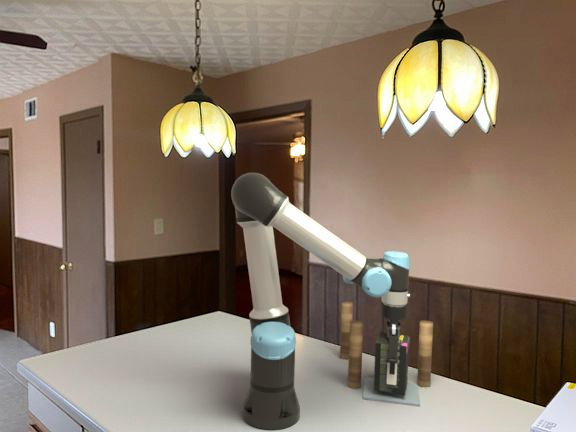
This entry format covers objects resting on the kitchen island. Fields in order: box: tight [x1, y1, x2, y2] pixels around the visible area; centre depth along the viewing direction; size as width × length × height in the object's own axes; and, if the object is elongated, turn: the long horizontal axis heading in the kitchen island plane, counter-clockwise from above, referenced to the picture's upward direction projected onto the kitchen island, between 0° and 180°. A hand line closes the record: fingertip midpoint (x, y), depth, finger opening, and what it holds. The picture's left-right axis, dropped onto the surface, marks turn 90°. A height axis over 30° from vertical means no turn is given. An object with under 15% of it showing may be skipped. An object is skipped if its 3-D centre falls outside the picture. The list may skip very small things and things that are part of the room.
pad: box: [362, 377, 421, 407], centre depth 133 cm, size 14×16×1 cm
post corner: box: [347, 320, 364, 390], centre depth 136 cm, size 4×4×20 cm
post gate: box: [339, 301, 354, 361], centre depth 159 cm, size 4×4×20 cm
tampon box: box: [373, 331, 410, 395], centre depth 133 cm, size 11×9×15 cm
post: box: [416, 319, 434, 388], centre depth 138 cm, size 4×4×20 cm
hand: (391, 375), depth 133 cm, fingers closed on tampon box, 11 cm apart
